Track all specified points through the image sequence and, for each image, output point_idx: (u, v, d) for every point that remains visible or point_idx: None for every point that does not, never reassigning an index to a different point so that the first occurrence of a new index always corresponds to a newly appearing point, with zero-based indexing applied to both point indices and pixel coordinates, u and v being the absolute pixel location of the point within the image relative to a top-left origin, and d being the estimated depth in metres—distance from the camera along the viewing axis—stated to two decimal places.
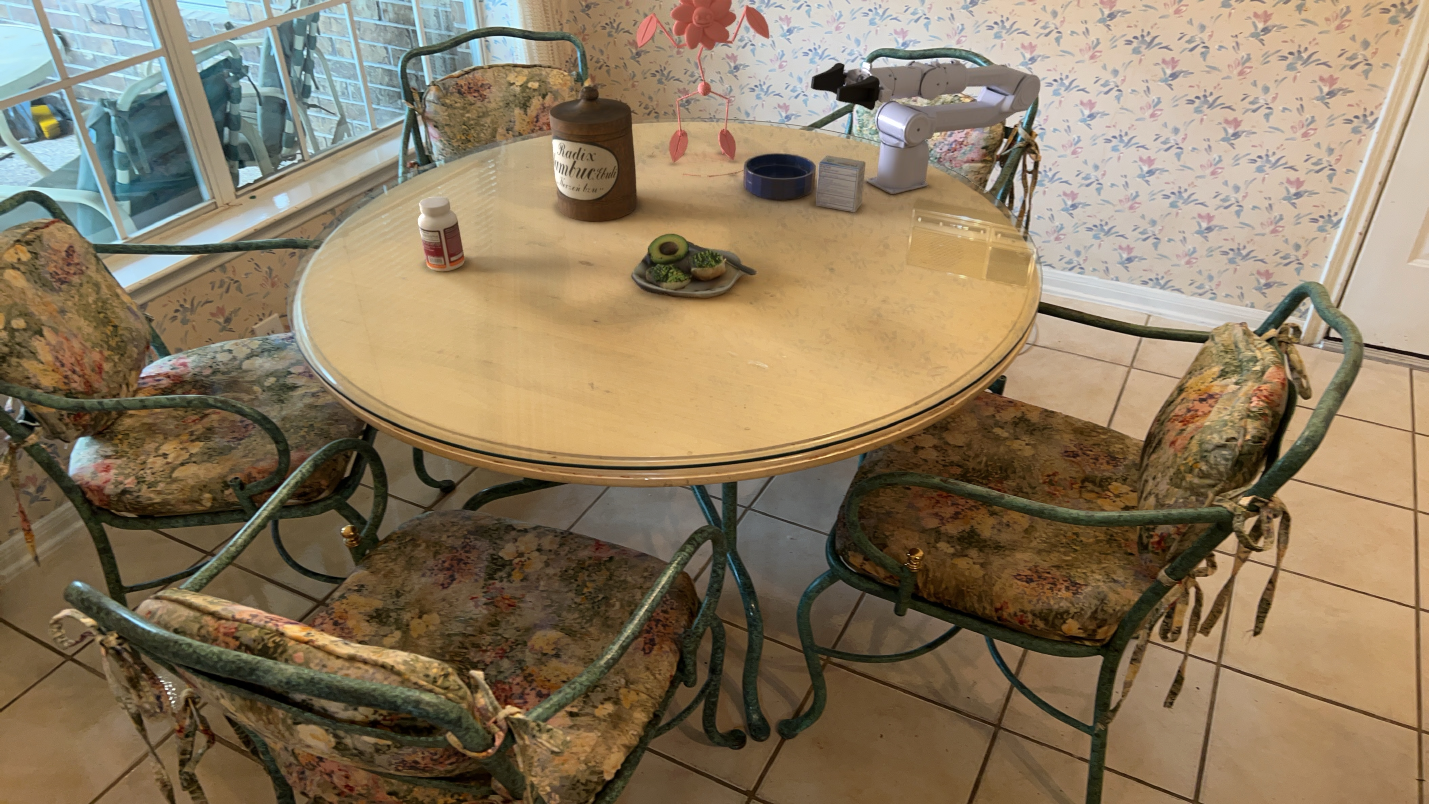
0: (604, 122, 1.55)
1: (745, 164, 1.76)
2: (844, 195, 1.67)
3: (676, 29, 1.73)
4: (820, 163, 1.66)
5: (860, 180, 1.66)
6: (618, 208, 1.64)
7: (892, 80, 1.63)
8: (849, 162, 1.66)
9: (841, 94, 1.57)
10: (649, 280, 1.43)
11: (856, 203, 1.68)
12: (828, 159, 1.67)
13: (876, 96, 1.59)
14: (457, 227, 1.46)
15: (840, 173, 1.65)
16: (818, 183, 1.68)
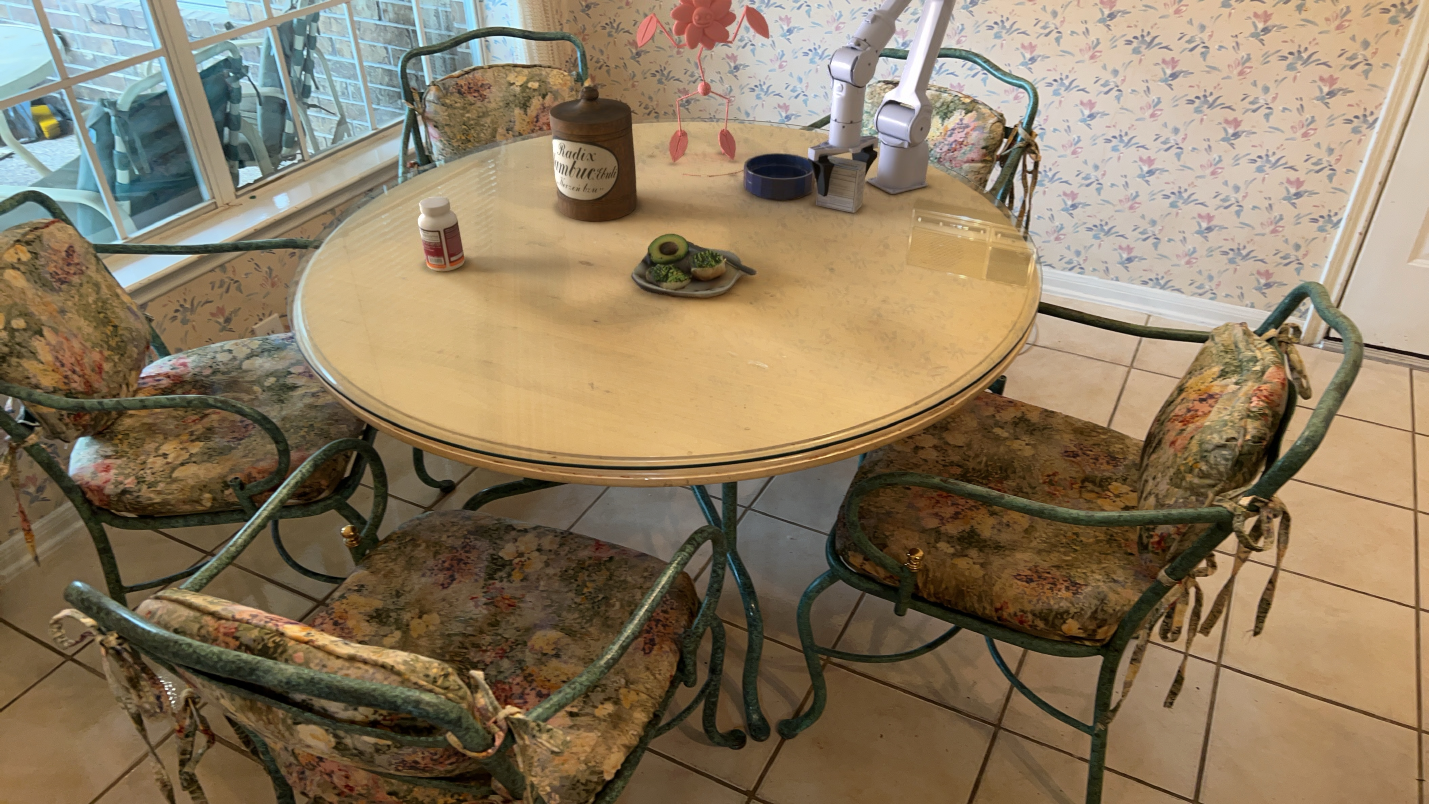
0: (604, 122, 1.55)
1: (745, 164, 1.76)
2: (844, 195, 1.67)
3: (676, 29, 1.73)
4: None
5: (860, 180, 1.66)
6: (618, 208, 1.64)
7: (861, 120, 1.62)
8: (849, 163, 1.66)
9: None
10: (649, 280, 1.43)
11: (856, 204, 1.68)
12: (829, 159, 1.67)
13: None
14: (457, 227, 1.46)
15: (840, 173, 1.65)
16: None
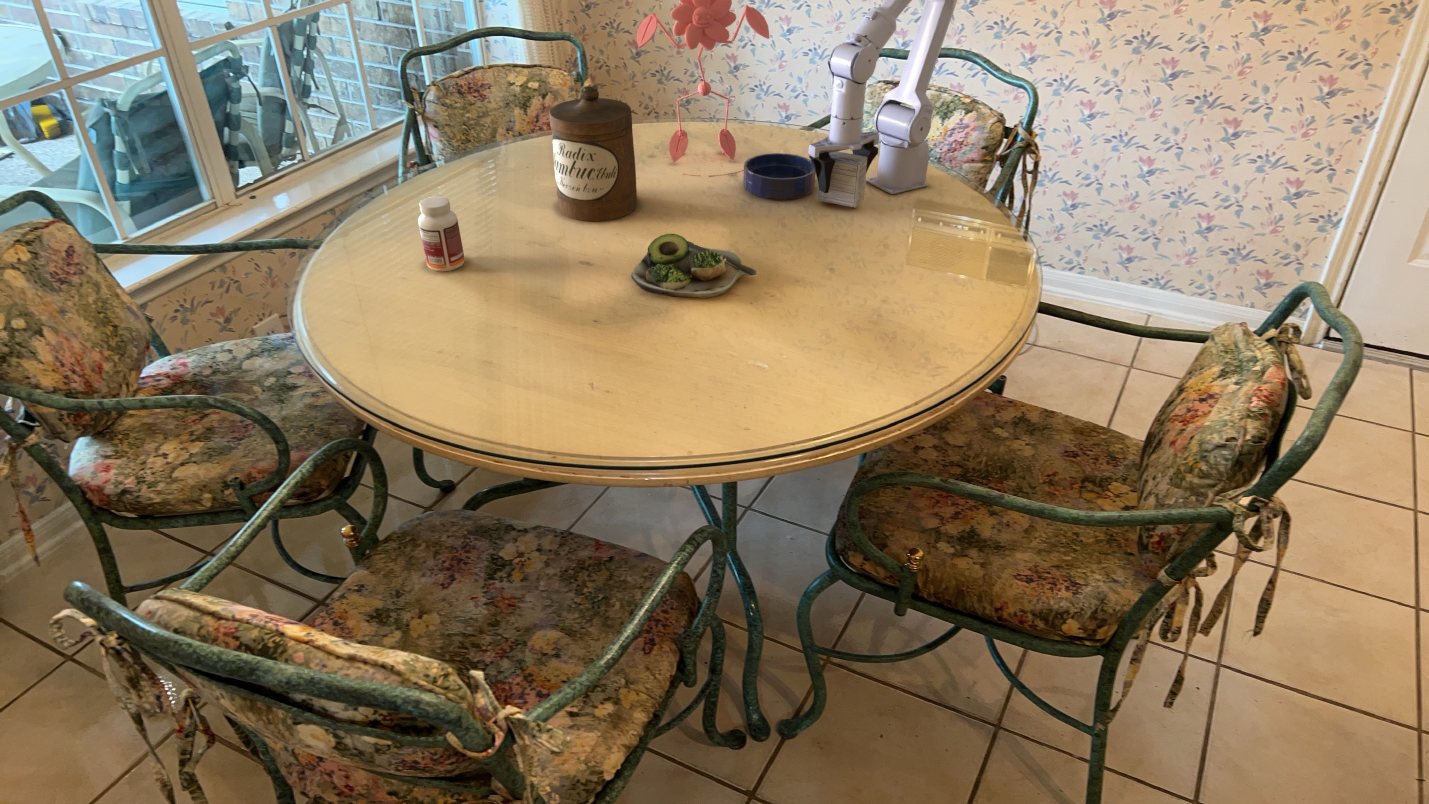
0: (604, 123, 1.55)
1: (745, 164, 1.76)
2: (845, 190, 1.67)
3: (676, 29, 1.73)
4: None
5: (861, 175, 1.65)
6: (618, 208, 1.64)
7: (862, 117, 1.62)
8: (850, 157, 1.65)
9: None
10: (649, 280, 1.43)
11: (857, 198, 1.67)
12: (830, 154, 1.67)
13: None
14: (457, 227, 1.46)
15: (841, 168, 1.65)
16: None
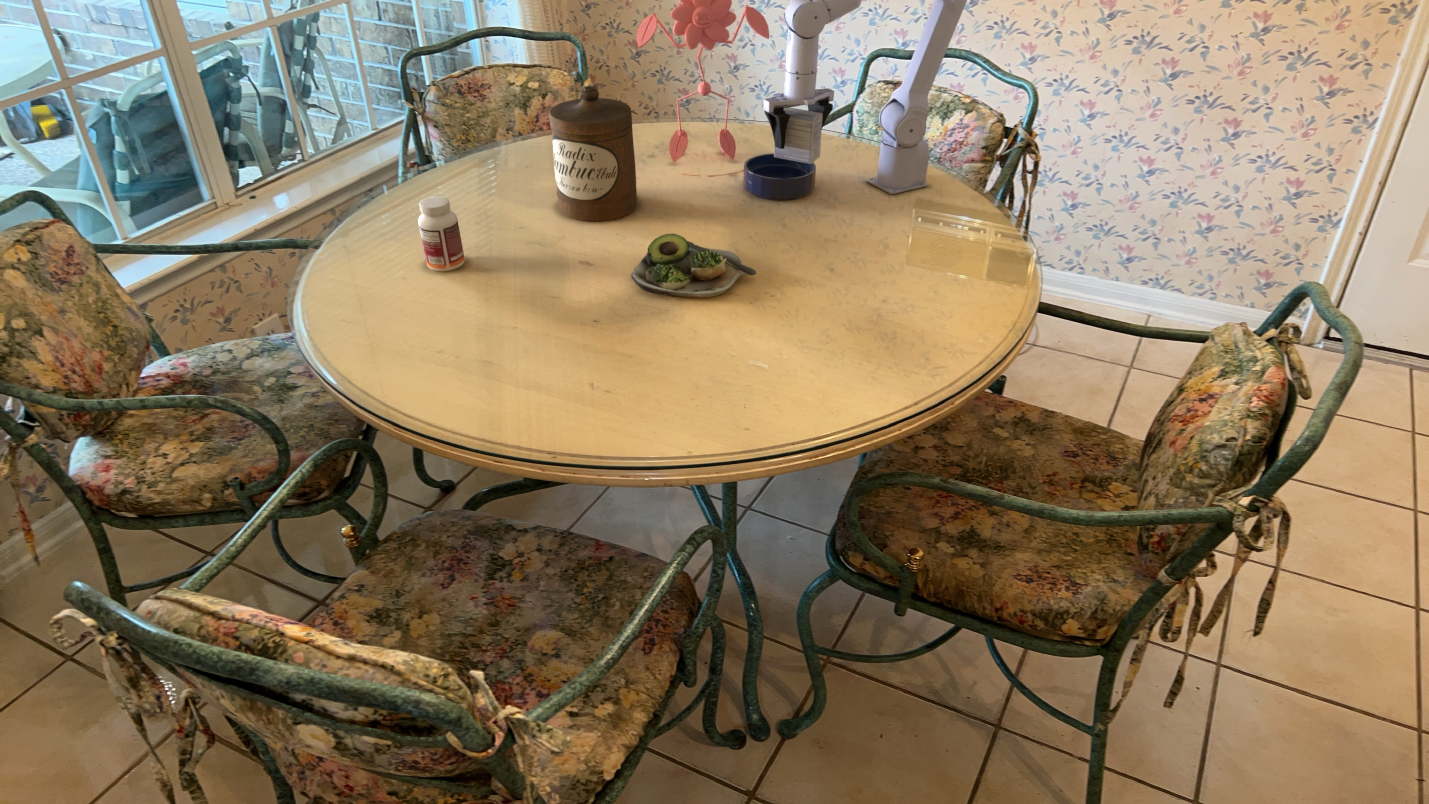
0: (605, 123, 1.55)
1: (745, 164, 1.76)
2: (800, 146, 1.69)
3: (676, 29, 1.73)
4: None
5: (816, 131, 1.67)
6: (618, 208, 1.64)
7: (816, 72, 1.64)
8: (805, 113, 1.67)
9: None
10: (649, 280, 1.43)
11: (812, 155, 1.69)
12: (786, 110, 1.69)
13: None
14: (457, 227, 1.46)
15: (796, 124, 1.67)
16: None
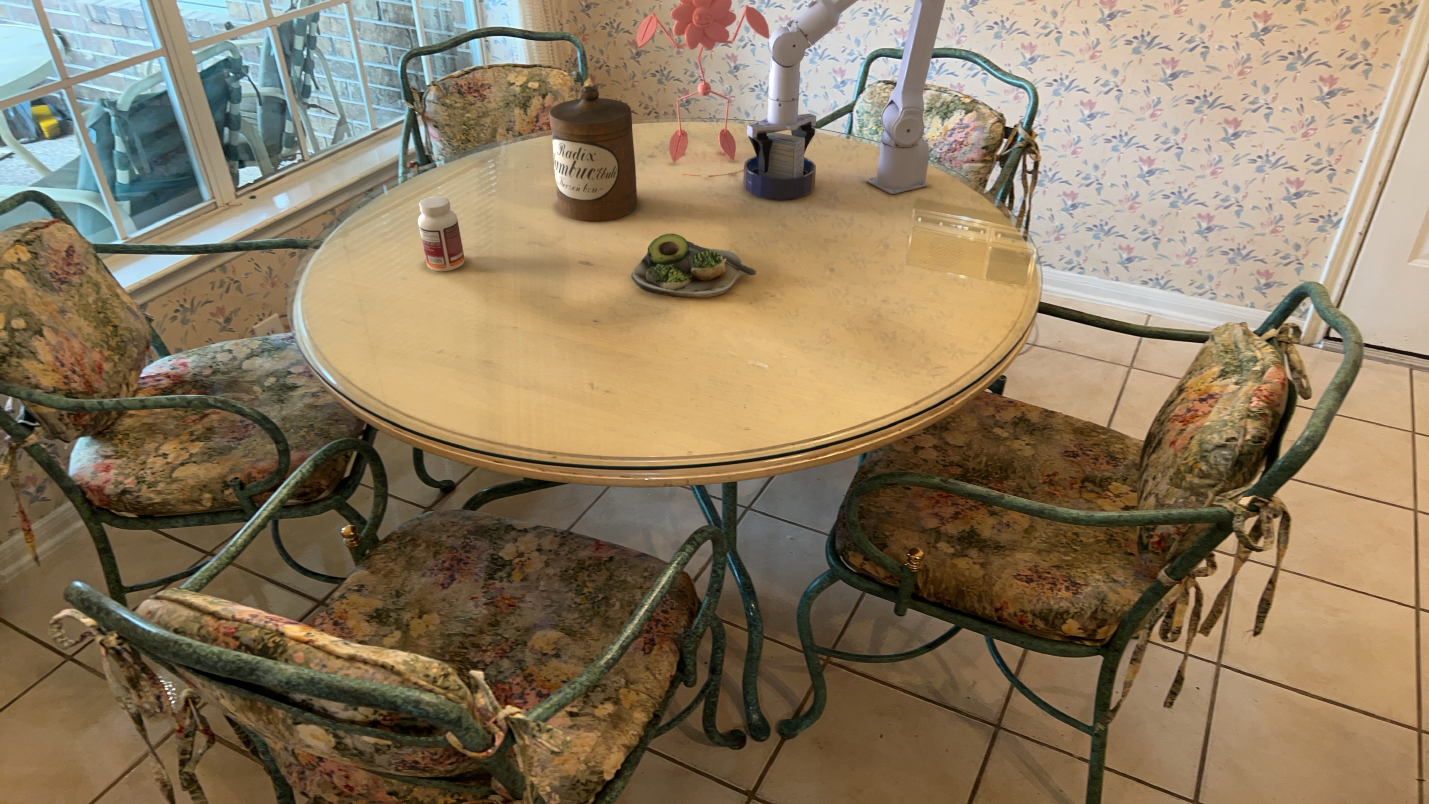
0: (604, 123, 1.55)
1: (745, 164, 1.76)
2: (783, 170, 1.74)
3: (676, 29, 1.73)
4: None
5: (798, 155, 1.72)
6: (618, 208, 1.64)
7: (798, 99, 1.69)
8: (788, 138, 1.72)
9: None
10: (649, 280, 1.43)
11: None
12: (769, 135, 1.74)
13: None
14: (457, 227, 1.46)
15: (779, 148, 1.72)
16: None
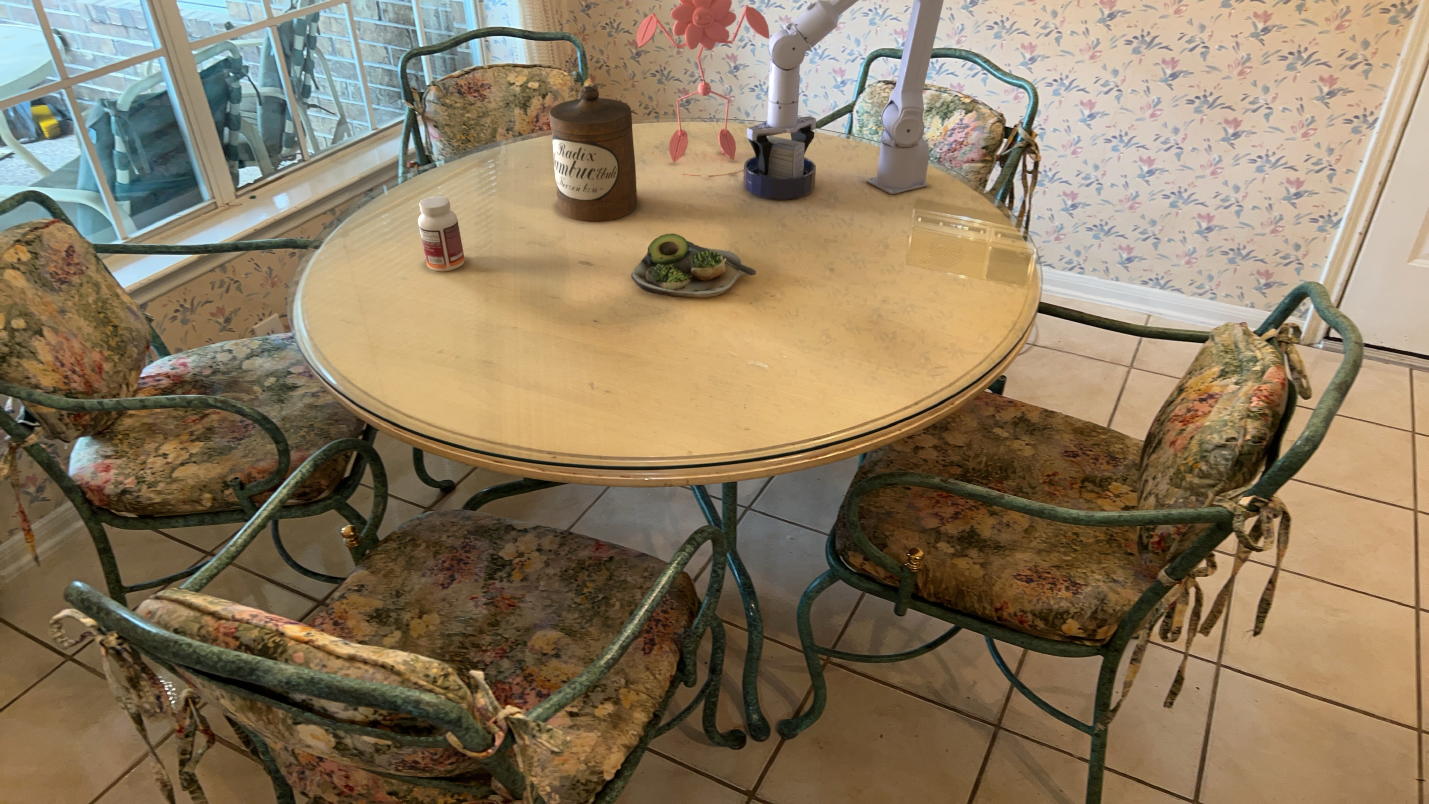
0: (604, 123, 1.55)
1: (745, 164, 1.76)
2: (783, 174, 1.74)
3: (676, 29, 1.73)
4: None
5: (798, 160, 1.72)
6: (618, 208, 1.64)
7: (798, 101, 1.69)
8: (788, 143, 1.72)
9: None
10: (649, 280, 1.43)
11: None
12: (769, 139, 1.74)
13: None
14: (457, 227, 1.46)
15: (779, 153, 1.72)
16: None
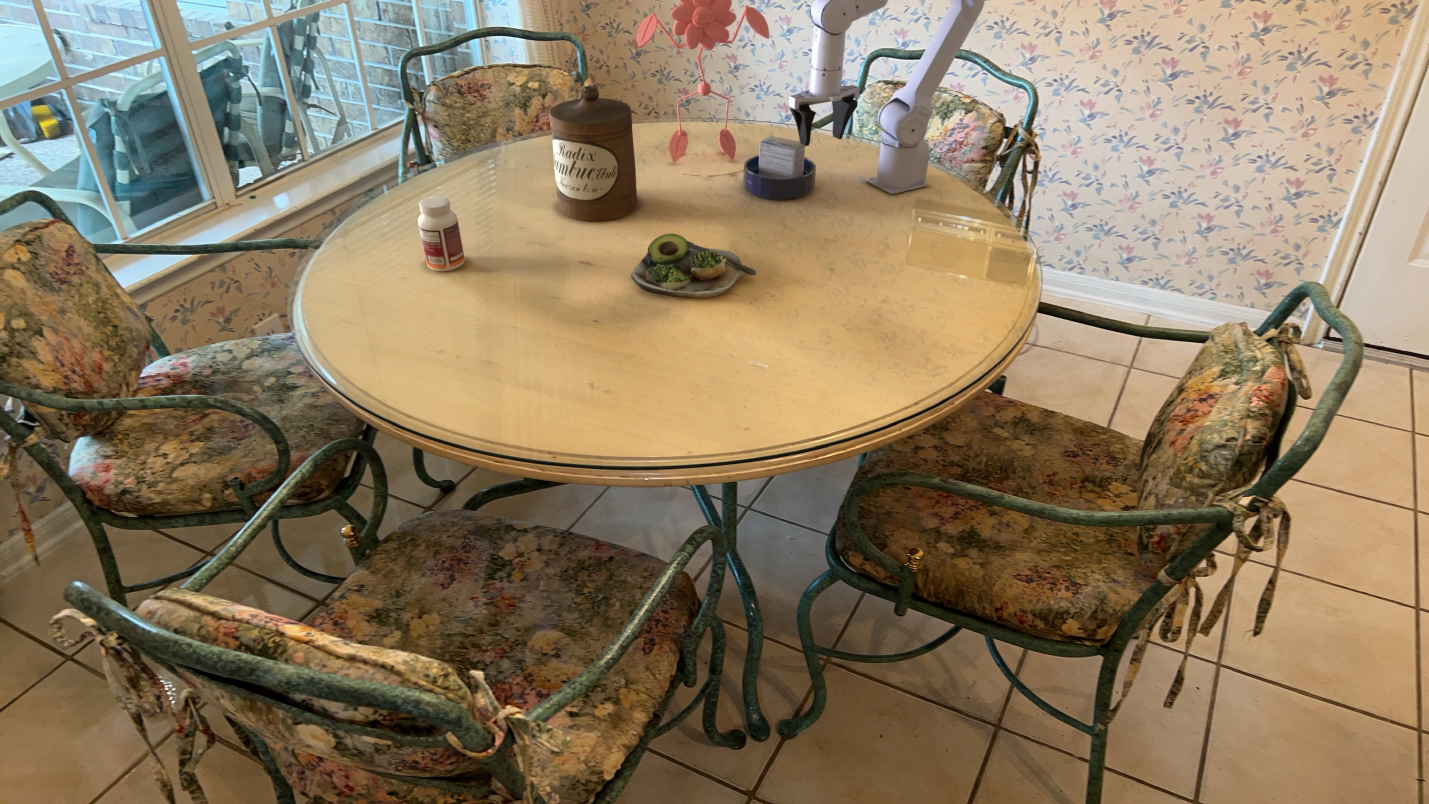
0: (604, 122, 1.55)
1: (745, 164, 1.76)
2: (783, 174, 1.74)
3: (676, 29, 1.73)
4: (761, 142, 1.73)
5: (798, 160, 1.72)
6: (618, 208, 1.64)
7: (842, 69, 1.63)
8: (788, 143, 1.73)
9: None
10: (649, 280, 1.43)
11: None
12: (770, 139, 1.74)
13: None
14: (457, 227, 1.46)
15: (779, 153, 1.72)
16: (760, 162, 1.75)
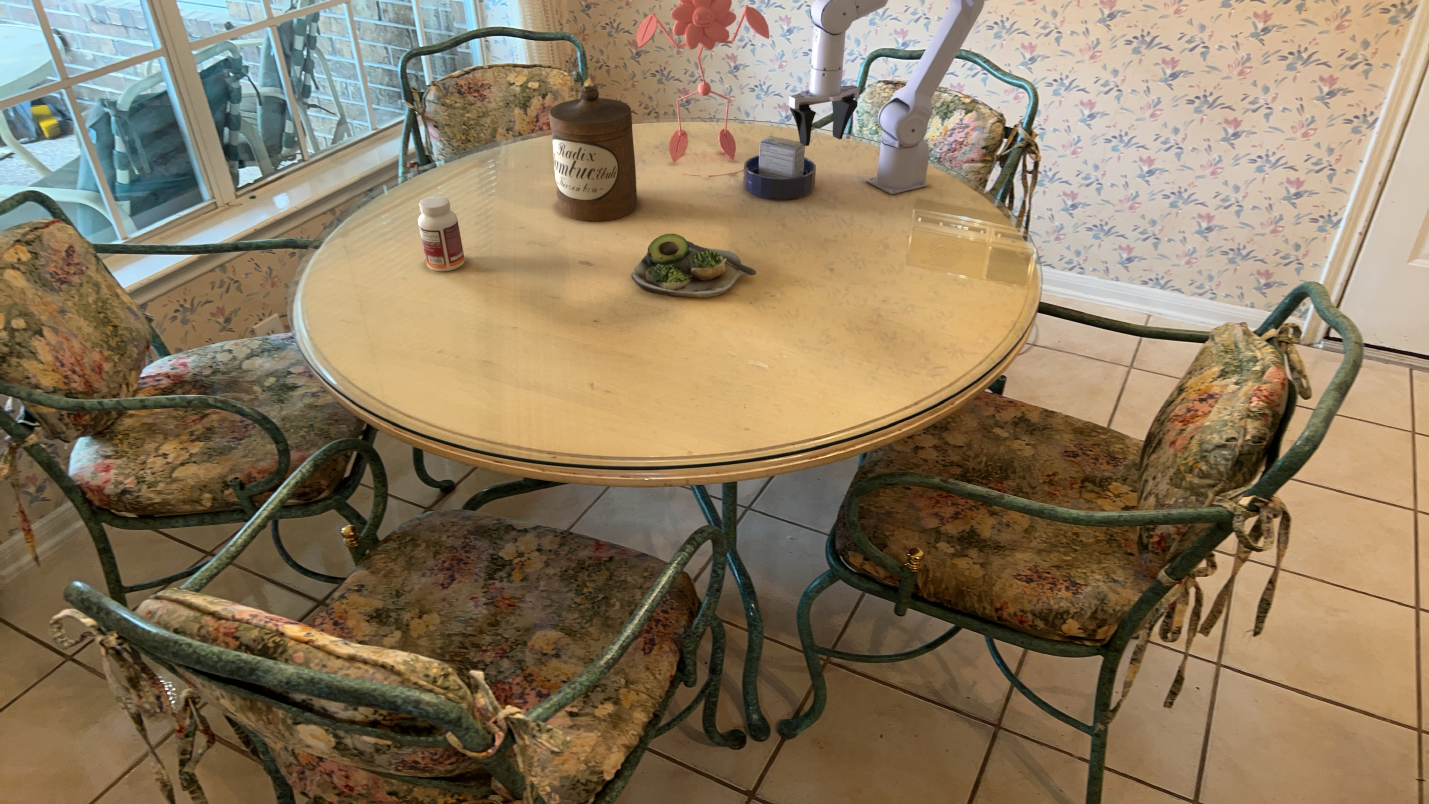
0: (604, 122, 1.55)
1: (745, 164, 1.76)
2: (783, 174, 1.74)
3: (676, 29, 1.73)
4: (761, 142, 1.73)
5: (798, 160, 1.72)
6: (618, 208, 1.64)
7: (842, 69, 1.63)
8: (788, 143, 1.73)
9: None
10: (649, 280, 1.43)
11: None
12: (770, 139, 1.74)
13: None
14: (457, 227, 1.46)
15: (779, 153, 1.72)
16: (760, 162, 1.75)
